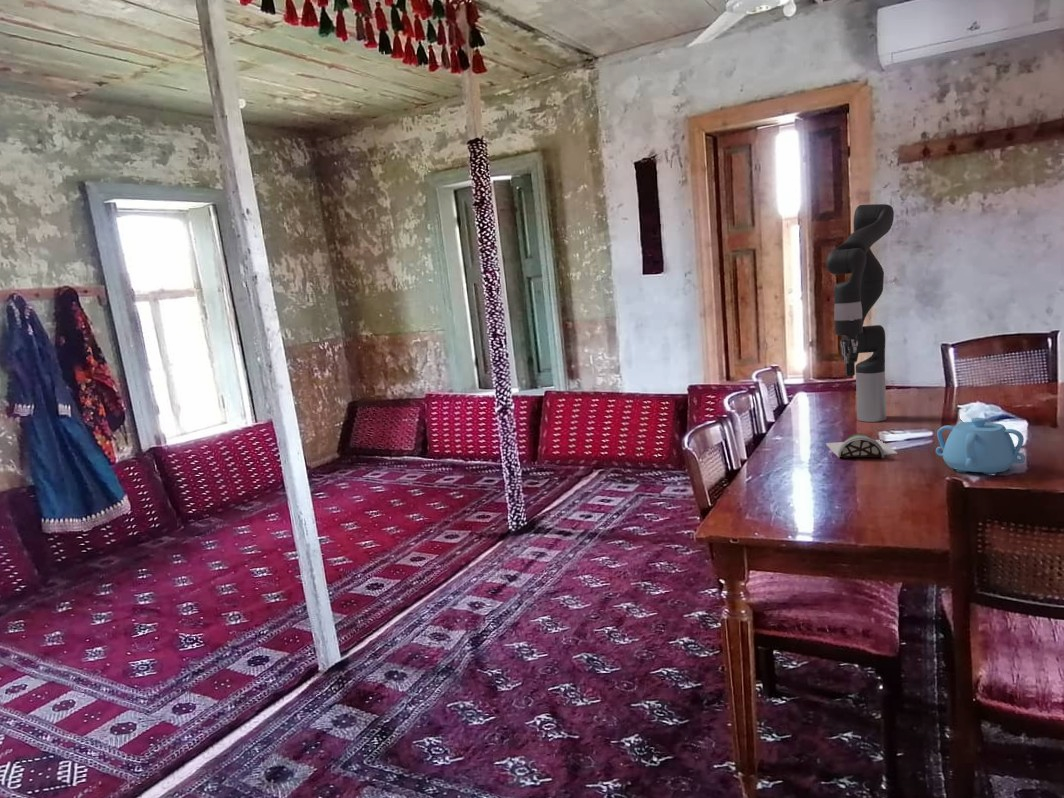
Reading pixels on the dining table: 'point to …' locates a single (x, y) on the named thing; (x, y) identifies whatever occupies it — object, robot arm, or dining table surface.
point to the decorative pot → (980, 447)
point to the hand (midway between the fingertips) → (850, 375)
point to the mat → (886, 448)
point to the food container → (860, 447)
